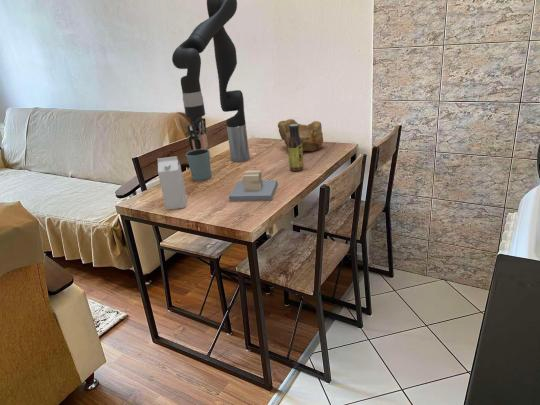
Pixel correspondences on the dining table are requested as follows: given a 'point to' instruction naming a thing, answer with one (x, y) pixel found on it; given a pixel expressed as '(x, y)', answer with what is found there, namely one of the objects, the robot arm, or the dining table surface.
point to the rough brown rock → (303, 134)
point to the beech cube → (252, 180)
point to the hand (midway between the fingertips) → (200, 146)
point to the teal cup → (199, 164)
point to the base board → (254, 192)
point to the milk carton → (172, 183)
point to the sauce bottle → (295, 149)
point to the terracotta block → (203, 142)
